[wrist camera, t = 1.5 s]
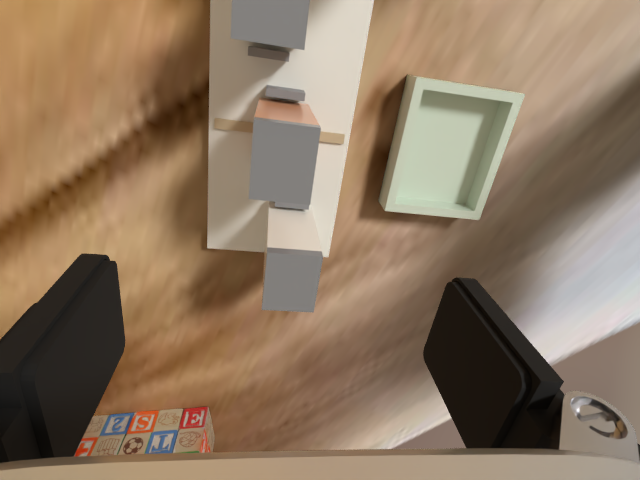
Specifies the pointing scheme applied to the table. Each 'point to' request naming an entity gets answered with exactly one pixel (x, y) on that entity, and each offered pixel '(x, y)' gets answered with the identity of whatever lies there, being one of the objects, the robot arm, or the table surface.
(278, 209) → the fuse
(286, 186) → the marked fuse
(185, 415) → the stack of blocks
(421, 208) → the tray
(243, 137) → the board
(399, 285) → the table surface
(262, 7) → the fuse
